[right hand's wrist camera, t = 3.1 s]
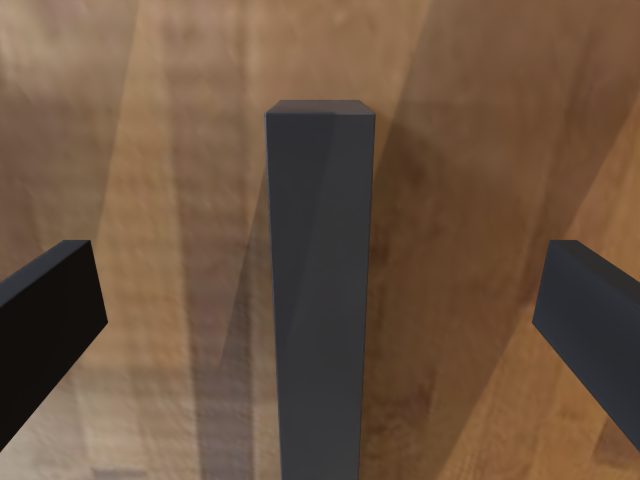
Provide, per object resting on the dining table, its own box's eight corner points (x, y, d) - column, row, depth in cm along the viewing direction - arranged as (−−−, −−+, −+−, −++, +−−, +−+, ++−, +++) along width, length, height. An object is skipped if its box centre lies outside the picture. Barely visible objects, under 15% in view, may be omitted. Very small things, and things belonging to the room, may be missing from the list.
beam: (279, 100, 27) (264, 112, 19) (360, 100, 27) (375, 112, 19) (293, 504, 40) (287, 604, 33) (346, 504, 40) (352, 603, 33)
